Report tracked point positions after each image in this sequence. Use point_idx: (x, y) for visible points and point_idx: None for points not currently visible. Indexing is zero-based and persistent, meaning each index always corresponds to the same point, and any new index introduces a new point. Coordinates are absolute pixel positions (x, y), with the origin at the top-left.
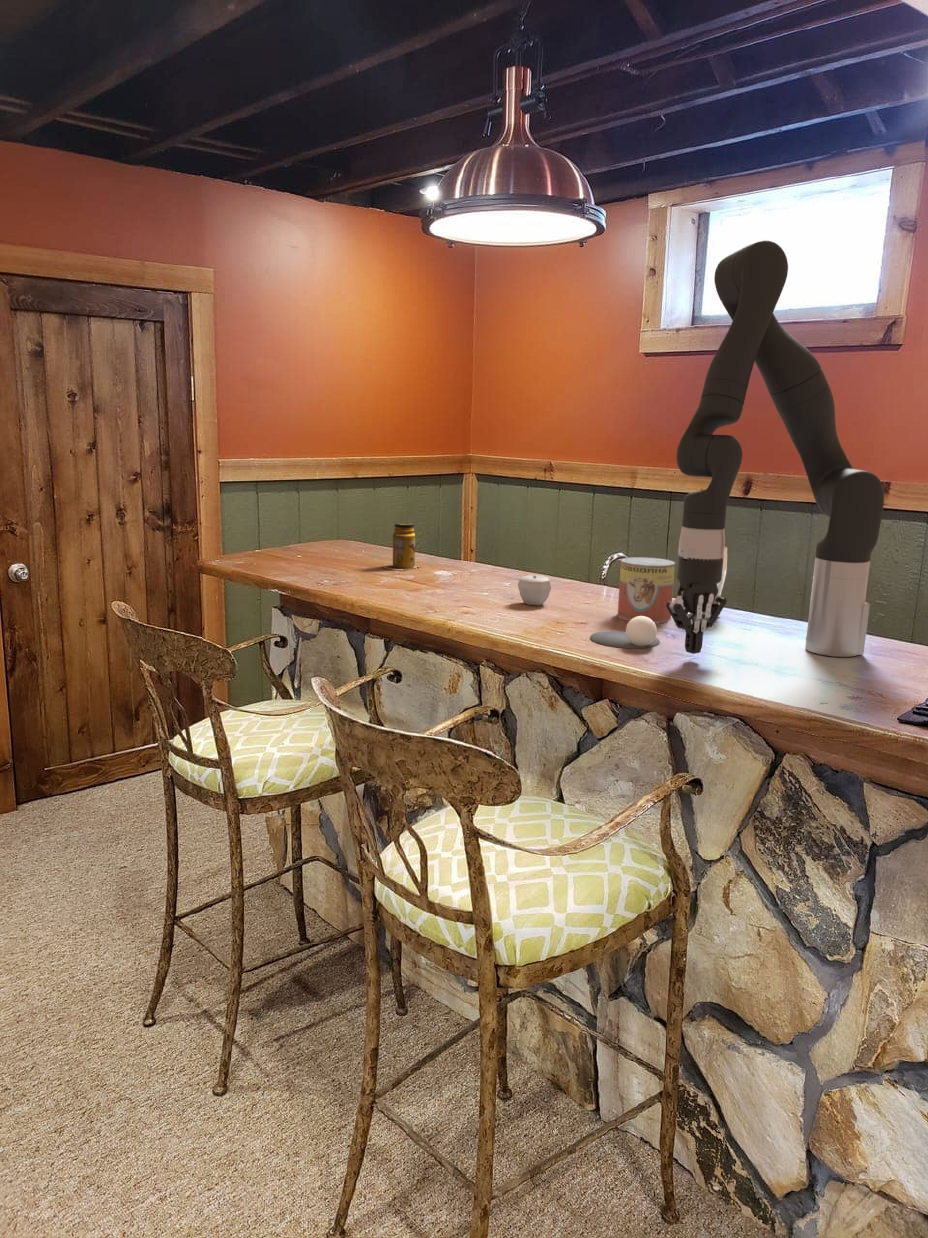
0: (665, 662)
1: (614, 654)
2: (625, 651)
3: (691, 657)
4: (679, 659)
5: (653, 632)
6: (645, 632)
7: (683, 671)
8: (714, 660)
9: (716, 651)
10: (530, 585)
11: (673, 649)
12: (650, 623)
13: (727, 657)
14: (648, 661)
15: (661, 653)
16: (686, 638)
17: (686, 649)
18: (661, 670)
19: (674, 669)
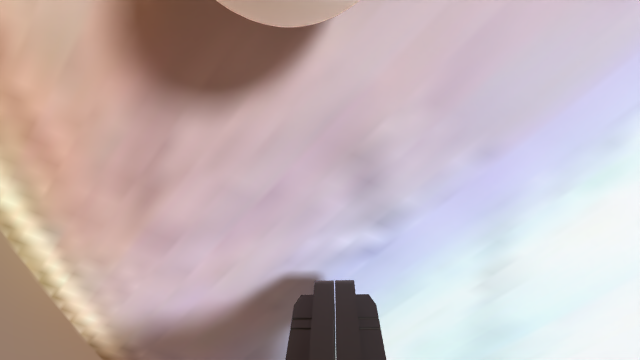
0: (215, 245)
1: (49, 34)
2: (138, 6)
3: (373, 237)
4: (302, 238)
5: (308, 20)
6: (229, 8)
7: (205, 342)
8: (419, 302)
9: (566, 215)
10: None
11: (416, 94)
12: None
13: (506, 296)
14: (155, 206)
15: (298, 129)
16: (289, 347)
17: (315, 287)
18: (137, 308)
19: (190, 317)
